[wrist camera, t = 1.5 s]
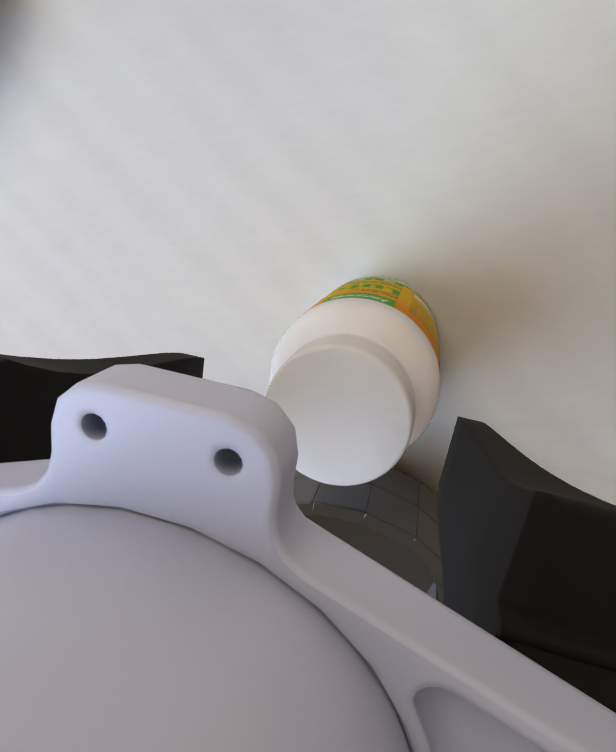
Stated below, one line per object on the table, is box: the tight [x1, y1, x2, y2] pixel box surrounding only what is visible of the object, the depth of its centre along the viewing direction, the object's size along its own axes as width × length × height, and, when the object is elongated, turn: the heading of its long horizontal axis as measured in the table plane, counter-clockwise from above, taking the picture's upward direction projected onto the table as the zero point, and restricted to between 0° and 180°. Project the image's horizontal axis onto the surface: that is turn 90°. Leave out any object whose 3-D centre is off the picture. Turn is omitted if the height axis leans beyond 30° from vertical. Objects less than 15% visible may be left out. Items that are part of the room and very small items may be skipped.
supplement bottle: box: [266, 276, 440, 486], centre depth 18 cm, size 5×5×10 cm
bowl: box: [293, 468, 443, 604], centre depth 24 cm, size 13×13×5 cm
